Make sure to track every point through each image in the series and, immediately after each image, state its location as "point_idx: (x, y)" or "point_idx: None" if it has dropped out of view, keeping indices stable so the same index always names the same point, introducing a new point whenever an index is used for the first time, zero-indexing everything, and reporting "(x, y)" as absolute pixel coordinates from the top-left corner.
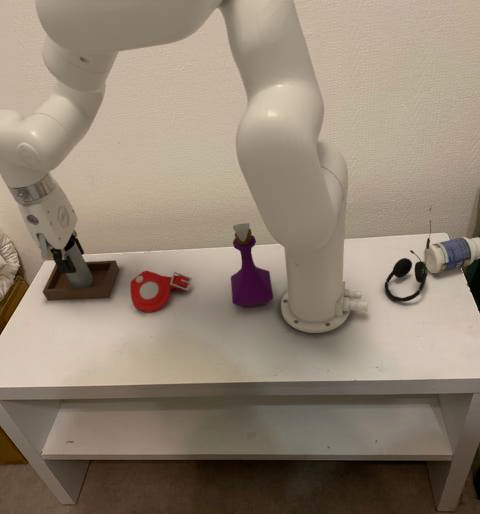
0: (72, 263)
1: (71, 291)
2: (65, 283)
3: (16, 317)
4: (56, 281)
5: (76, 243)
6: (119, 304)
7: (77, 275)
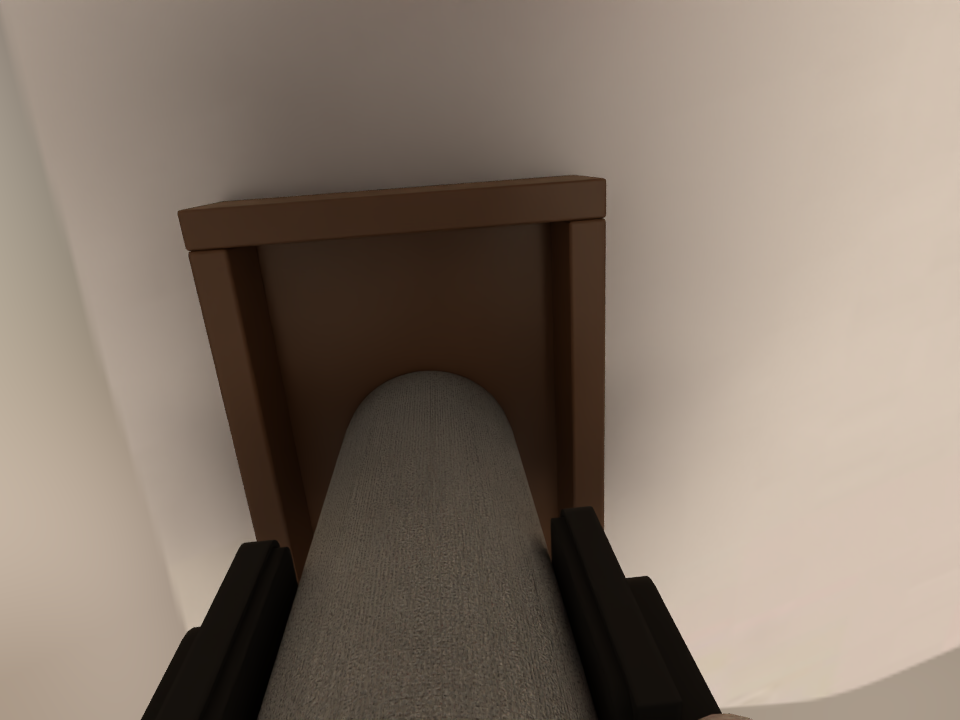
0: (609, 587)
1: (602, 482)
2: None
3: None
4: None
5: (231, 711)
6: (654, 53)
7: (524, 487)
